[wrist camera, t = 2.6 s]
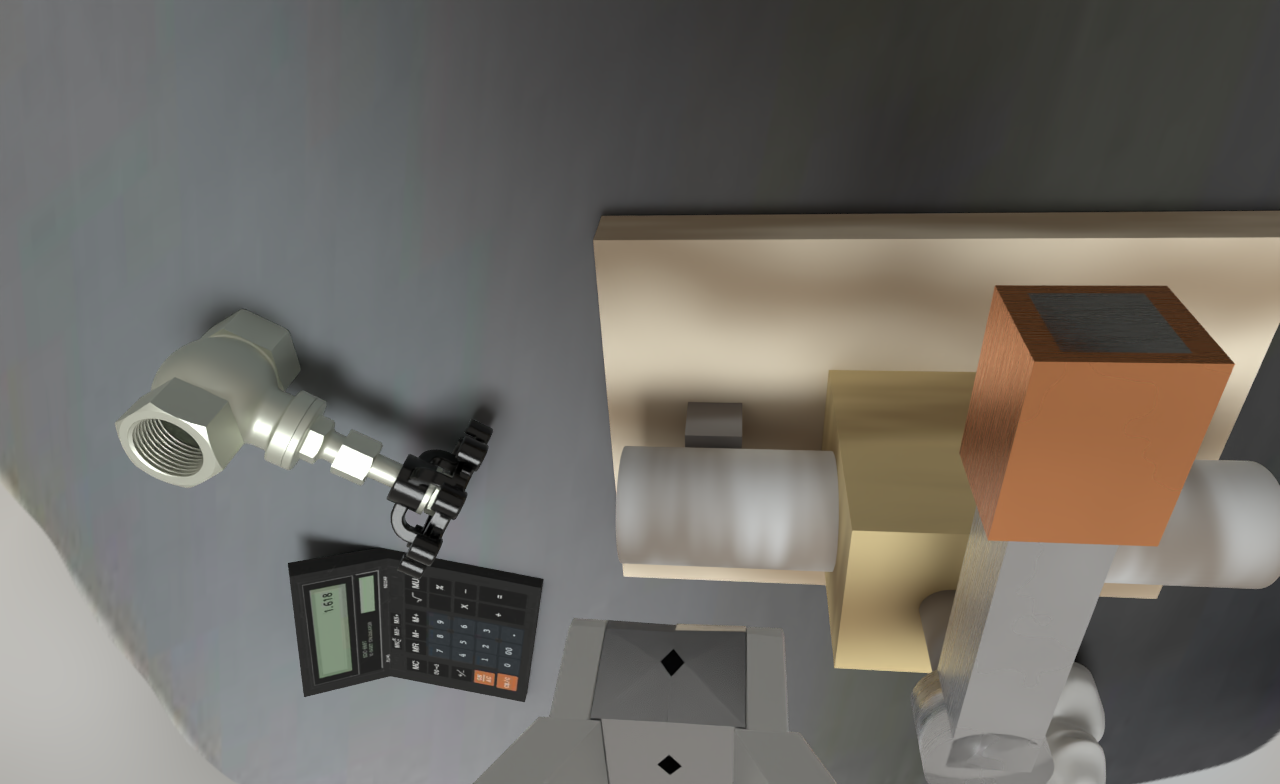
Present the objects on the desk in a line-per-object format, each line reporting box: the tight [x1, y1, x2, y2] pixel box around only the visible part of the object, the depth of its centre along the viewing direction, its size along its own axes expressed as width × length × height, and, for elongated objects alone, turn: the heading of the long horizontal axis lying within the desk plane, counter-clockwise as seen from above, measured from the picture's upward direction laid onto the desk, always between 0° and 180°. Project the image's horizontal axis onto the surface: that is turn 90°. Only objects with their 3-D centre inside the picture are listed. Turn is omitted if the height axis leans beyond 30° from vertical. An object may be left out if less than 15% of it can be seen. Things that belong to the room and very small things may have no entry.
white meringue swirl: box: [1045, 662, 1106, 784], centre depth 38 cm, size 5×7×8 cm
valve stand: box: [593, 211, 1280, 673], centre depth 27 cm, size 16×22×13 cm
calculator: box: [288, 548, 543, 702], centre depth 42 cm, size 9×12×3 cm
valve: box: [115, 309, 493, 579], centre depth 32 cm, size 7×7×12 cm
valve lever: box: [911, 285, 1235, 784], centre depth 18 cm, size 14×3×3 cm, turn 3°
